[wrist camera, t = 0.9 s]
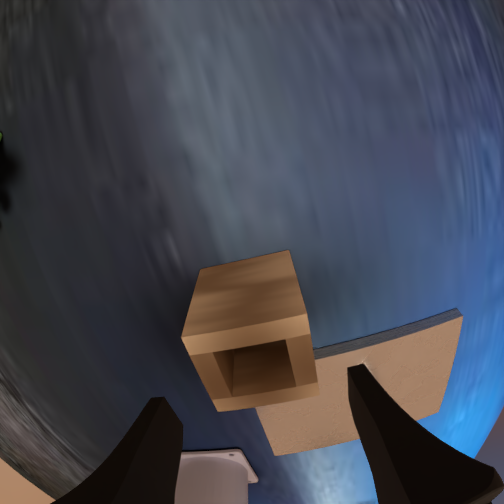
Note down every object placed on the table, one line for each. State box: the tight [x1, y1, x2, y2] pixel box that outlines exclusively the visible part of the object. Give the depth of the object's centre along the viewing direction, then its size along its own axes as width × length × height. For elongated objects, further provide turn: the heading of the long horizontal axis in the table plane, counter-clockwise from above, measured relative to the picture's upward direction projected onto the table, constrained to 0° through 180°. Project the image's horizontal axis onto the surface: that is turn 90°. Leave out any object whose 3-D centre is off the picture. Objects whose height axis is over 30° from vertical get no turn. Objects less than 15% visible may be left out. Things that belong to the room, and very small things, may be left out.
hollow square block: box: [181, 250, 320, 412], centre depth 16 cm, size 5×5×6 cm
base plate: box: [255, 308, 463, 456], centre depth 20 cm, size 16×12×5 cm
